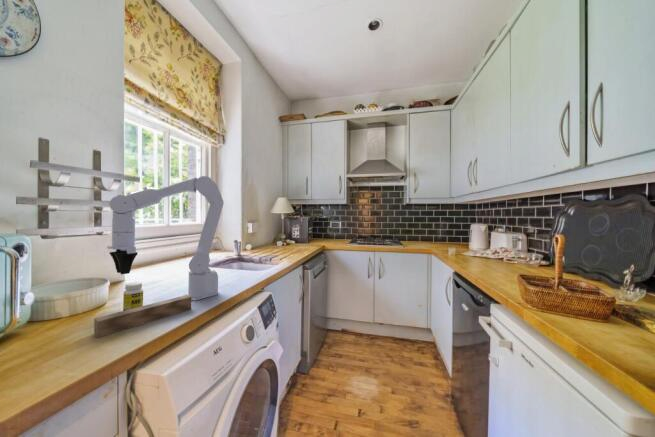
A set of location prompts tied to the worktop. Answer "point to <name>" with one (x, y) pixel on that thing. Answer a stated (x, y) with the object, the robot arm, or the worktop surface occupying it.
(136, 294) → the supplement bottle
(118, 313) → the walnut board
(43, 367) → the worktop surface
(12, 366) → the worktop surface
